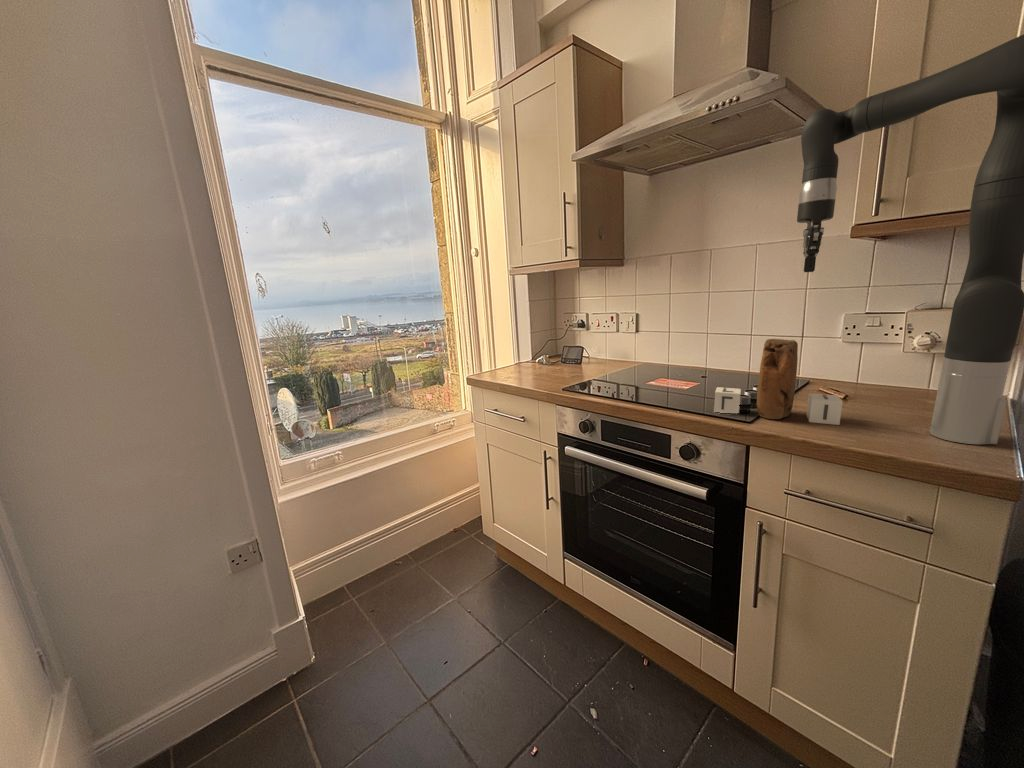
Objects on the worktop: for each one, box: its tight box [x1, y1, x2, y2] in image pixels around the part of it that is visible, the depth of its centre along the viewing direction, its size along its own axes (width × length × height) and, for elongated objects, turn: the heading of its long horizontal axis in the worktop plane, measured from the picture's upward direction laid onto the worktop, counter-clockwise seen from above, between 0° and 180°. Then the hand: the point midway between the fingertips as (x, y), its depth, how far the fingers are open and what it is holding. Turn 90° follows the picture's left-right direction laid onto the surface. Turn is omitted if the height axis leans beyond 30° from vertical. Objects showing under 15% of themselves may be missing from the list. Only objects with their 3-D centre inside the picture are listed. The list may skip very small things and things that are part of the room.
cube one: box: [806, 393, 844, 426], centre depth 103 cm, size 6×6×6 cm
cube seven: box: [713, 386, 742, 414], centre depth 114 cm, size 6×6×6 cm
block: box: [756, 338, 799, 420], centre depth 107 cm, size 11×8×20 cm
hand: (808, 272), depth 107 cm, fingers closed
